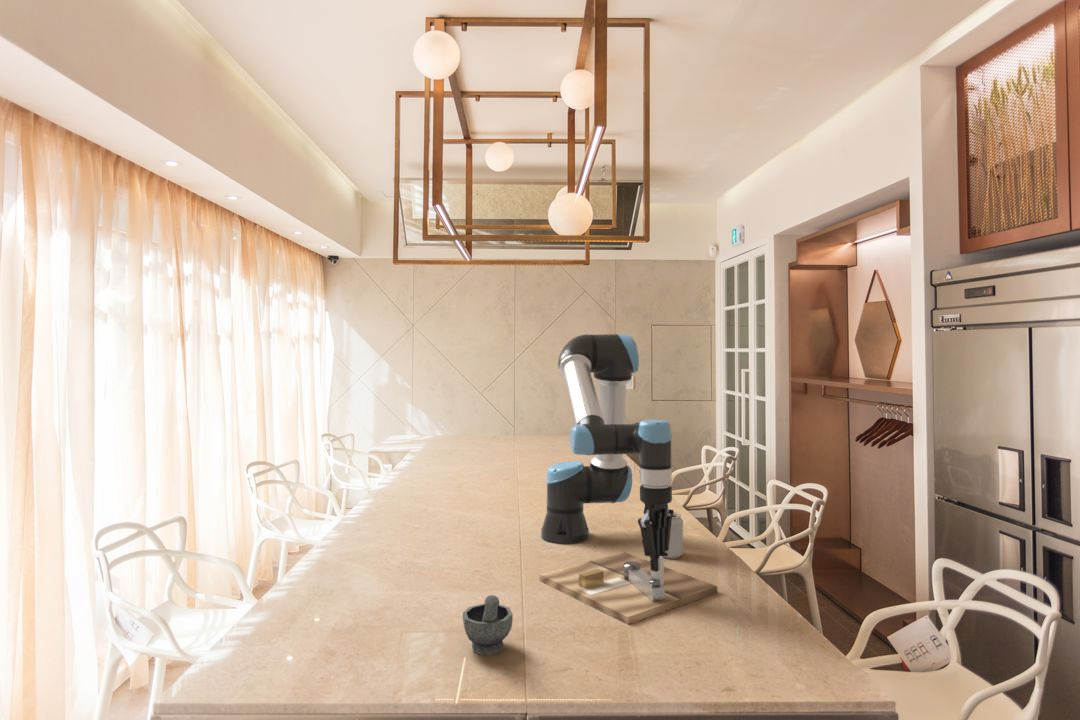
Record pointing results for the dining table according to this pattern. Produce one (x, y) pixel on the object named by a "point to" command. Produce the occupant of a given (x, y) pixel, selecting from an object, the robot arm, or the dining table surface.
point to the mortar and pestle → (487, 626)
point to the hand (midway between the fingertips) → (657, 583)
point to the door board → (624, 587)
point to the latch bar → (644, 581)
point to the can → (675, 538)
